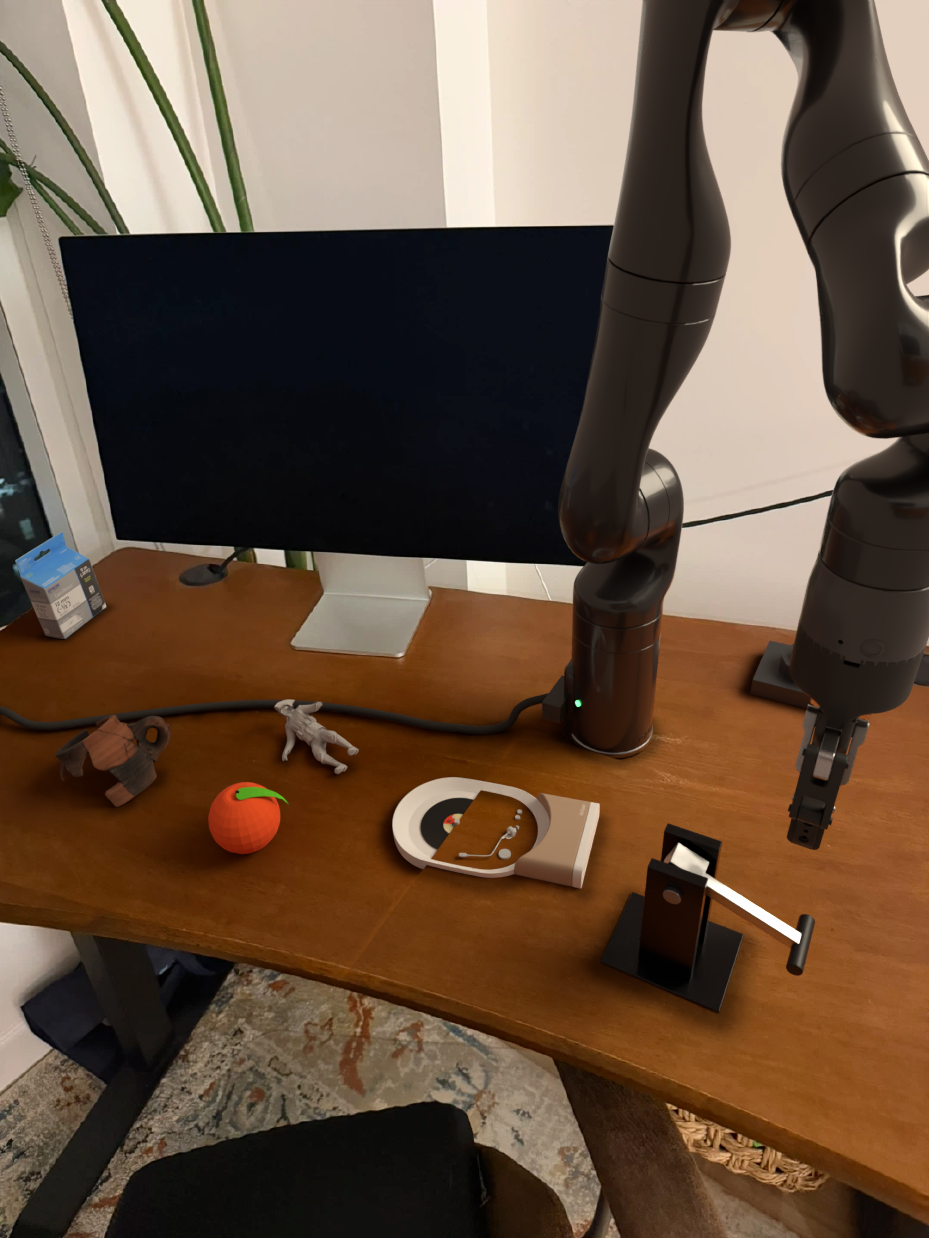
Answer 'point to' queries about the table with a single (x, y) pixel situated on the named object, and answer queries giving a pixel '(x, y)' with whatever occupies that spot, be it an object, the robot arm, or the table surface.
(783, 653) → the button box
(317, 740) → the soldier figure
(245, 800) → the clementine
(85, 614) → the label tape box
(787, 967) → the lever
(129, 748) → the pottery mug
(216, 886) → the table surface
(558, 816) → the record player
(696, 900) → the bracket
